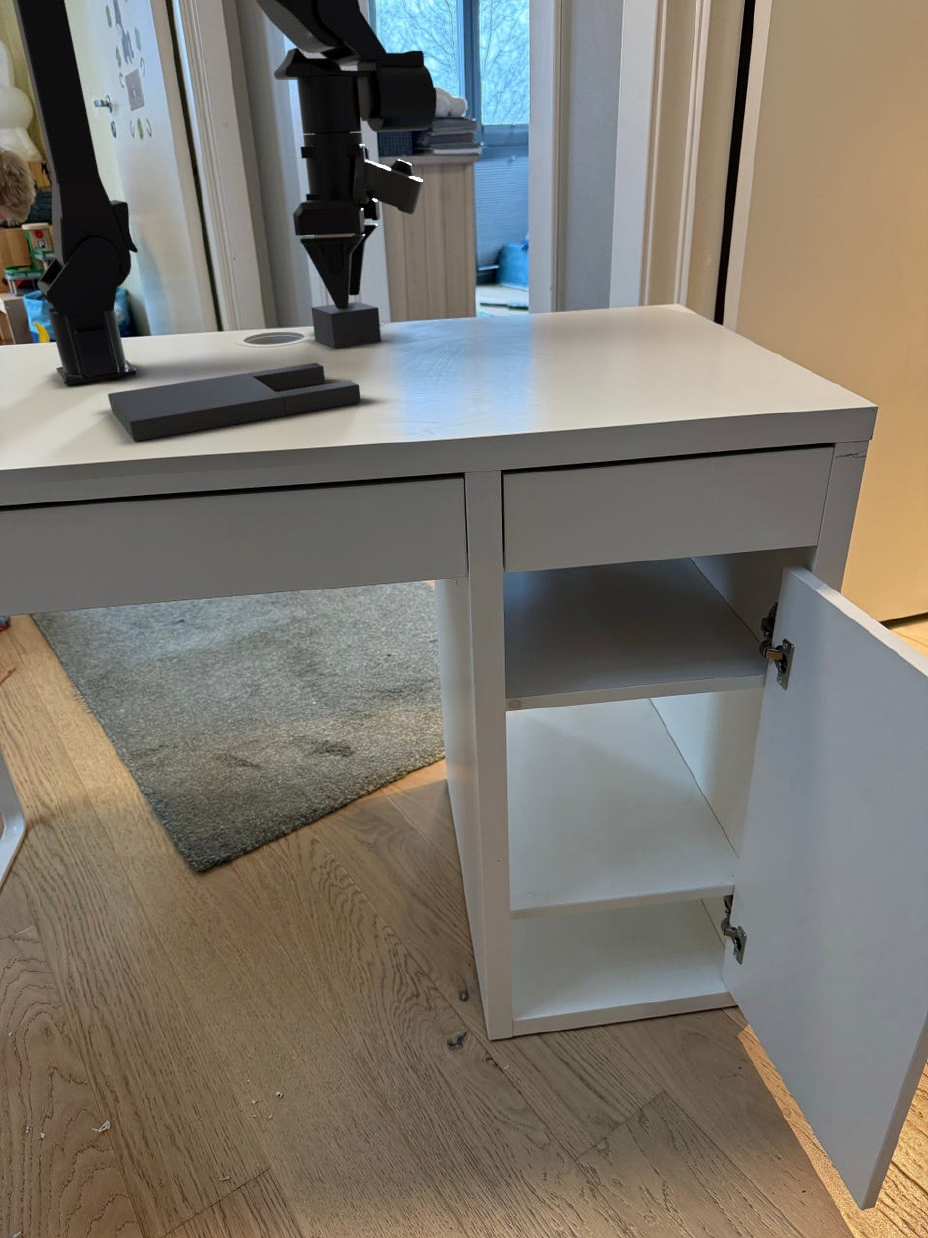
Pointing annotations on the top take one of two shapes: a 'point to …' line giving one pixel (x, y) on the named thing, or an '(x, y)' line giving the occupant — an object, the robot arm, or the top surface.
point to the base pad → (228, 401)
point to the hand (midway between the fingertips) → (348, 301)
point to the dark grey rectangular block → (346, 325)
